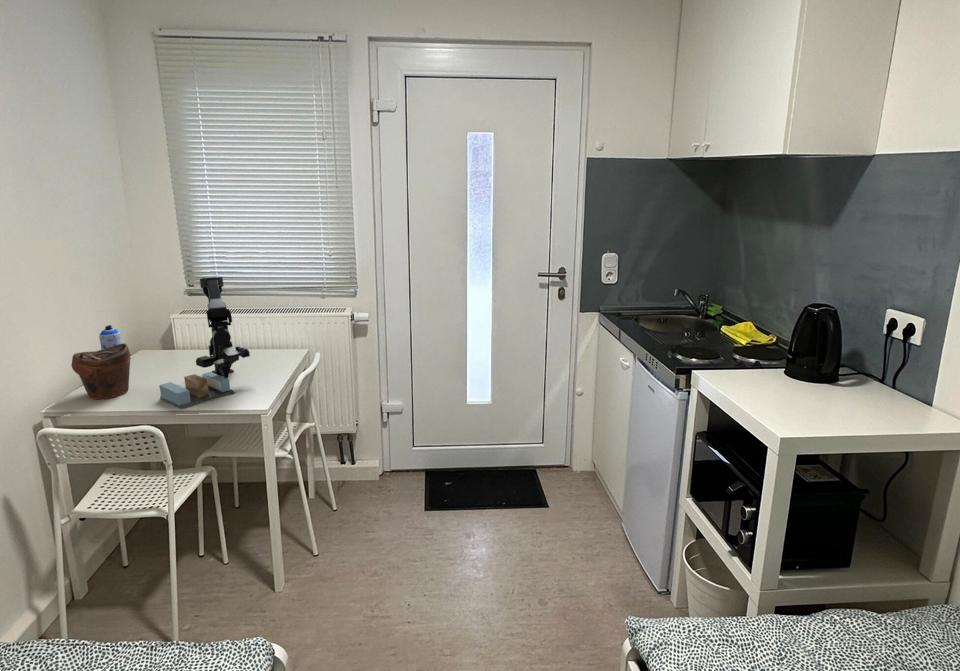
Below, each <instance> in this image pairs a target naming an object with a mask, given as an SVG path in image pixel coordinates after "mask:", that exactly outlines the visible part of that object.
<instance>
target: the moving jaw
mask: <svg viewBox="0 0 960 671" xmlns="http://www.w3.org/2000/svg"><path fill="white" fill-rule="evenodd" d="M201 377H203V378H206V379H207V384H208V386H209V387H211V388H214V389H216V390H218V391H221V392H225V391H229V390H230V389H231V386H230V379H229V378H228V379H227V378H224V377H223V376H222V375H217V374H215V373H212V371H207V372H205V373H202V376H201Z"/></svg>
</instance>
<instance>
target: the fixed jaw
mask: <svg viewBox="0 0 960 671" xmlns="http://www.w3.org/2000/svg"><path fill="white" fill-rule="evenodd" d="M158 387H159V390H160V391H159V392H160V396H161V397H163V398H165V399H167V400H169V401H171V402H173V403H175V404H177V405H179V406H180V405H183V404H187V403H190V393H189V390H187V389H186V387H184V386H180V385H178V384H176V383H174V382H172V381H170V382H169V381H168V382H166V383H161V384H160V385H159V386H158Z"/></svg>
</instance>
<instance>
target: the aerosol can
mask: <svg viewBox="0 0 960 671" xmlns="http://www.w3.org/2000/svg"><path fill="white" fill-rule="evenodd" d="M98 337H99V342H100V343H99V344H100V350H103V349H106V348H109V347H113V346H117V345H119V344H123V342H122V335H121V332H120V331H119V330H118V329H116V328H114V327H113V326H112V325H111V324H109V325H106V326H105V328H104V329H103V330H102V331H100V333H99V336H98Z"/></svg>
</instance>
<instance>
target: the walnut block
mask: <svg viewBox="0 0 960 671" xmlns="http://www.w3.org/2000/svg"><path fill="white" fill-rule="evenodd" d="M183 378H184V385H185V389H187V390H189V393H190V394H191V395H194V396H196V397H198V398H199V397H202V396H206V395H209V392H208V384H207V379H206V378H203V376H201V375H199V374H195V373H194V374H190V375H186V376H183Z"/></svg>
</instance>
